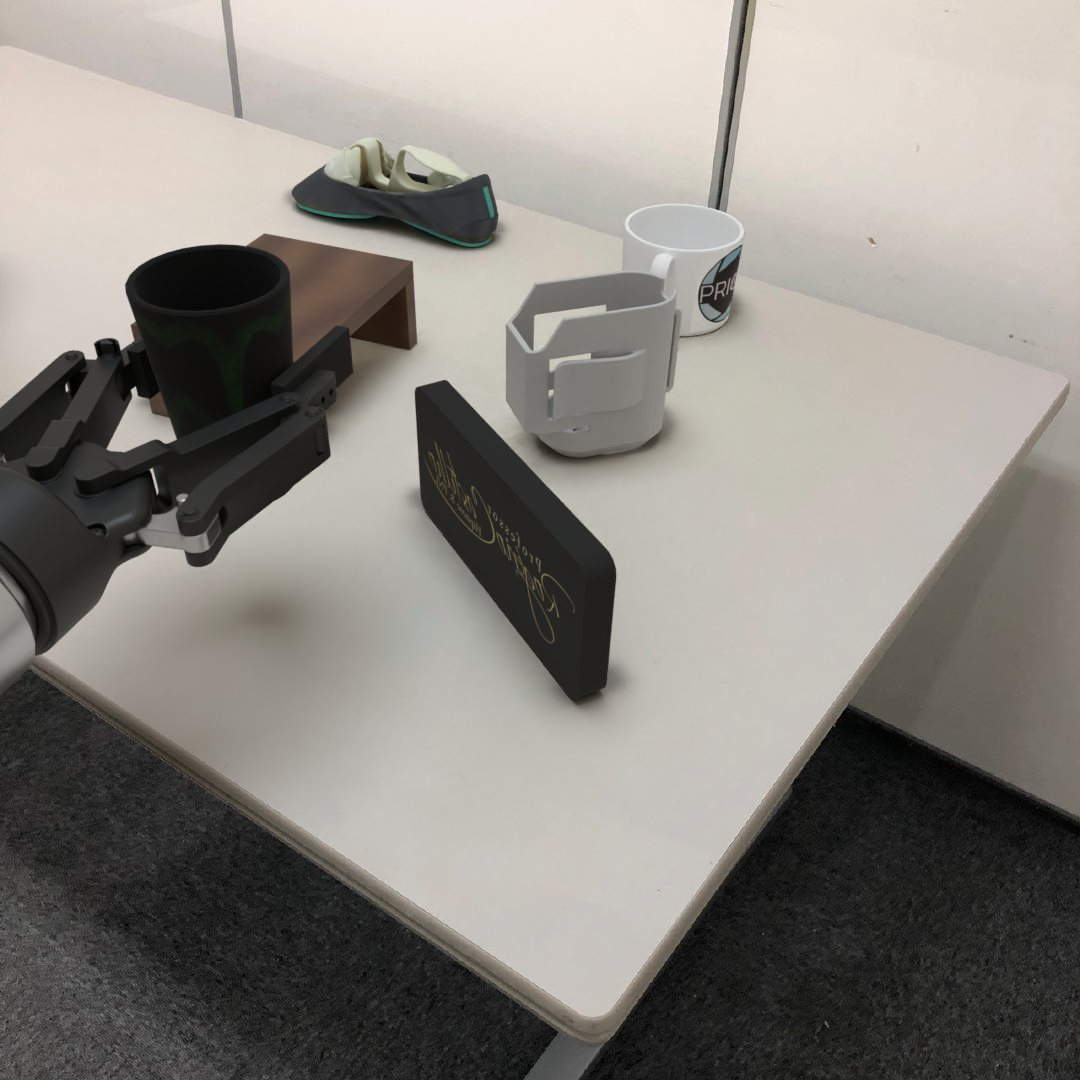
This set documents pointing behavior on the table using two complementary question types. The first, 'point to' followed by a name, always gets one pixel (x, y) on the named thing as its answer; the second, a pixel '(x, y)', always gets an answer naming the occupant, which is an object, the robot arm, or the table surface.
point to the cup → (213, 329)
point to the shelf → (339, 296)
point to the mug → (687, 258)
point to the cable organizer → (595, 362)
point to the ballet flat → (403, 192)
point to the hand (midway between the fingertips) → (276, 334)
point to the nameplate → (517, 539)
